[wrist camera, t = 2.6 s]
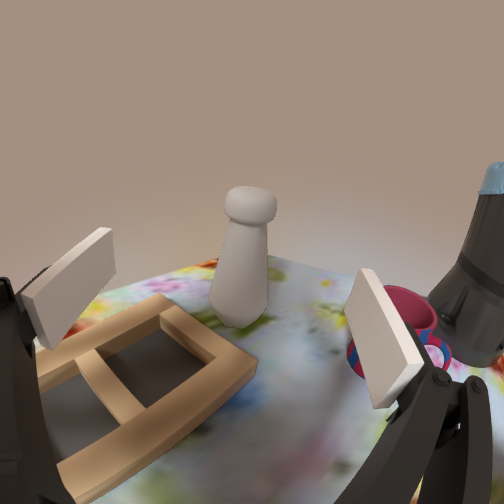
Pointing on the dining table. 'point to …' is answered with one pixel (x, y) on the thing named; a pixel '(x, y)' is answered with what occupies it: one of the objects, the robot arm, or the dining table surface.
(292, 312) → the dining table surface
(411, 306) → the mug
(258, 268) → the salt shaker
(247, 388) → the dining table surface
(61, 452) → the wooden slotted tray
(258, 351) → the dining table surface
